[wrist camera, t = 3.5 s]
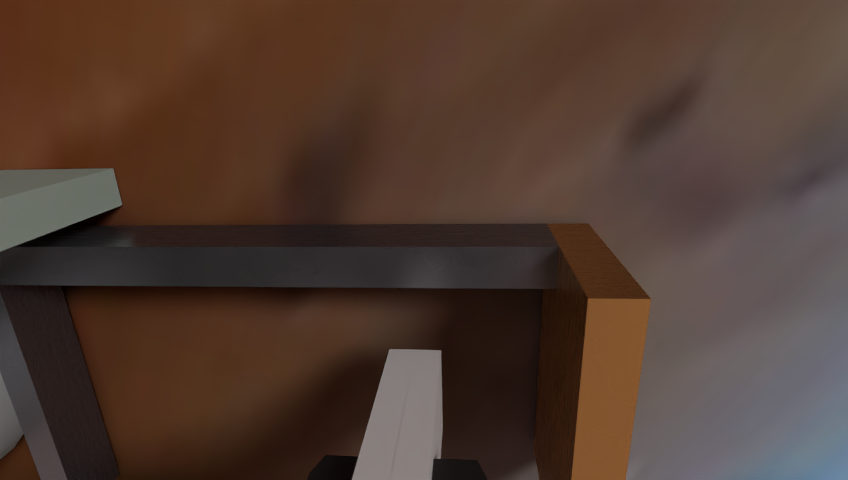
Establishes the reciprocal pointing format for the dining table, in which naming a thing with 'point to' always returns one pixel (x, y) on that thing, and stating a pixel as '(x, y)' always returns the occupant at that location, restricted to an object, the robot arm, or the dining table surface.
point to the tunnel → (51, 200)
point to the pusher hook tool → (347, 268)
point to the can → (8, 422)
